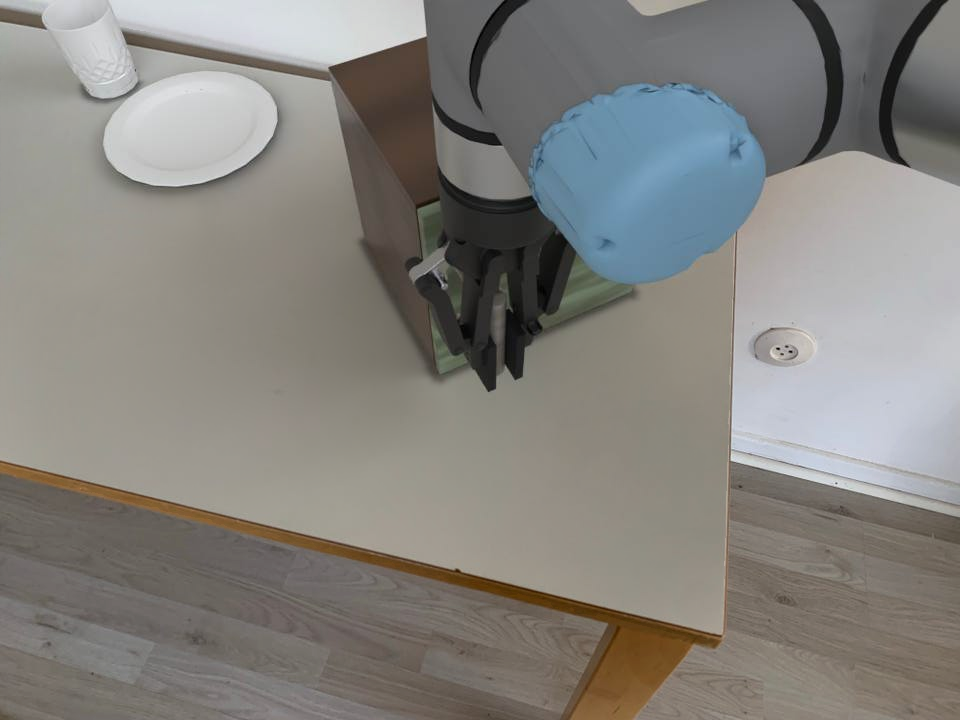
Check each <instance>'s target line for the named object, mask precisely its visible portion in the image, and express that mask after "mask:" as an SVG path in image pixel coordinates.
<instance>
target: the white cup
mask: <svg viewBox="0 0 960 720" xmlns="http://www.w3.org/2000/svg"><path fill="white" fill-rule="evenodd" d="M41 22H42V23H43V25H44V27H45V29H46V30H47V32H48V33H49V35H50V36H51V38H52V40H53V41H54V43H55V45H56V46H57V48H58V49H59V51H60V53H61V54H62V56H63V58H64V59H65V61H66V62H67V64H68V65H69V67H70V69H71V70H72V72H73V73H74V75H75V76H76V77H77V78H78V80H79V82H80V83H81V85H82V84H83V85H84V86H85V87H86V88H87V89H86V88H85V87H84V86H83V85H82V86H83V88H84V90H85V91H86V92H87V93H88V94H89V95H90V96H91V97H95V98H97V99H101V100H103V99H104V100H105V99H114V98H117V97H120V96H124V95H126V94H127V93H129V92H130V91H132V90H133V89H134V88H135V86H136V85H137V83H138V82H139V74H138V71H137V69H136V76H135V77H134V79H133V80H132V82H131V83H129V82H130V81H131V79H132V77H133V76H134V74H135V68H136V66H135V63H134V61H133V58H132V55H131V51H130V49H129V47H128V44H127V41H126V39H125V36H124V34H123V31H122V29H121V27H120V25H119V22H118V20H117V17H116V15H115V13H114V10H113V7H112V5H111V3H110V0H54V1H52V2H51V3H50V4H48V5H47V6H46V7H45V9H44V10H43V11H42V14H41ZM134 66H135V67H134ZM128 83H129V84H128ZM126 84H128V85H127V86H126ZM124 86H125V87H124ZM123 87H124V88H123ZM121 88H122V89H121ZM118 89H119V90H118ZM88 90H89V91H88ZM92 91H93V92H92ZM108 92H109V93H108Z"/></svg>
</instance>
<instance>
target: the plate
mask: <svg viewBox="0 0 960 720" xmlns="http://www.w3.org/2000/svg"><path fill="white" fill-rule="evenodd" d="M200 89H201V90H200ZM202 89H203V90H202ZM186 91H187V92H186ZM278 118H279V117H278V107H277V104H276V102H275V100H274V98H273V97H272V95H271V93H269V91H268V90H267V89H266V88H264V87H263V86H262V85H261V84H260V83H258V82H256V81H254V80H252V79H250V78H248V77H245V76H243V75H240V74H236V73H231V72H226V71H216V70H215V71H213V70H200V71H192V72H185V73H179V74H176V75H173V76H169V77H166V78H162V79H159V80H157V81H155V82H153V83H150V84H149V85H147V86H145V87H142V88H141V89H139V90H138V91H136V92H135V93H133V94H132V95H131V96H129V97H128V98H126V100H124V101H123V103H122V104H120V106H119V107H118V108H117V109H116V110H115V111H114V112H113V113H112V115H111V116H110V118H109V121H108V123H107V124H106V126H105V128H104V133H103V142H102V146H103V147H102V148H103V150H104V153H105V157H106V159H107V161H108V162H109V163H110V164H111V165H112V167H113V168H114V169H115V170H116V172H117V173H119V174H121V175H122V176H124V177H126V178H128V179H130V180H131V181H133V182H136V183H139V184H142V185H143V184H144V185H147V186H151V187H156V188H175V189H177V188H185V187H193V186H201V185H204V184H208V183H211V182H214V181H217V180H220V179H224V178H225V177H227V176H230V175H231V174H233V173H235V172H237V171H239V170H241V169H243V168H245V167H246V166H247V165H248V164H250V163H251V162H252V161H253V160H255V159H256V158H257V157H258V156H260V154H262V153H263V151H264V150H265V149H266V147H267V146H268V145H269V143H270V142H271V140H272V139H273V138H274V135H275V132H276V129H277V126H278V123H279V120H278Z"/></svg>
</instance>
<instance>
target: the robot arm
mask: <svg viewBox="0 0 960 720" xmlns="http://www.w3.org/2000/svg"><path fill="white" fill-rule="evenodd" d="M423 12H424V23H425V35H426V36H427V46H428V58H429V69H430V80H431V90H432V105H433V117H434V130H435V142H436V154H437V160H438V183H439V195H440V207H441V215H442V221H443V227H442V230H441V233H440V234H439V236H438V239H437V247H438V249H437V250H436V251H435V252H433V253H432V254H431V255H430V256H429V257H427V258H426V259H425V260H424V261H423V260H422V259H420V258H419V257H412V258H410V259H408V260H407V261H406V262H405V264H404V268H405V270H406V271H407V273H408V275H409V277H410V278H411V280H412V282H413V284H414V285H415V287H416V289H417V290H418V292H419V294H420V295H421V296H422V297H424V298H425V299H426V300H427V303H428V306H429V308H430V311H431V314H432V316H433V319H434V322H435V324H436V327H437V330H438V332H439V333H440V335H441V337H442V339H443V340H444V342H445V344H446V346H447V347H448V349H449V351H450V352H451V354H452V355H453V356H459V355H461V354H462V353H463V352H464V356H465V358H466V359H467V361H468V363H467V364H469V366H470V368H471V369H472V370H473V371H475V374H476V375H477V376H478V378H479V380H480V381H481V383H482V384H483V386H484V388H485V390H486V391H487V393H490V392H493V391H495V390H497V376H496V362H497V346H496V344H495V343H494V341H493V339H492V338H491V336H490V335H489V330H490V322H491V315H492V307H493V300H494V293H497V292H498V291H499V286H500V279H501V275H502V274H504V273H507V282H508V291H509V301H510V306H511V308H512V309H513V313H512V312H511V310H510V309H507V310H506V337H505V367H506V368H507V370H508V372H509V374H510V375H511V377H512V378H513V380H514V381H518V380H520V379H522V378H523V377H524V365H525V353H526V351H525V350H526V348H527V347H530V346H531V345H532V343H533V341H534V337H536V336H538V335H540V334H541V333H542V332H543V331H544V330H543V327H542V325H541V324H540V322H539V321H538V318H539V317H540V316H541V315H543V314H544V313H545V314H546V315H547V316H550V315H553V314H554V313H556V312H557V311H558V309H559V307H560V303H561V300H562V297H563V294H564V291H565V288H566V285H567V281H568V278H569V275H570V272H571V269H572V266H573V262H574V259H575V256H576V253H578V254H579V256H580V257H581V258H582V259H583V261H584V262H585V263H586V265H587V266H588V267H589V268H590V269H592V270H593V271H594V272H595V273H597V274H598V275H600V276H601V277H603V278H606V279H608V280H611V281H614V282H617V283H624V284H634V285H645V284H650V283H655V282H659V281H663V280H666V279H668V278H672V277H675V276H676V275H679V274H681V273H683V272H685V271H687V270H689V268H690V267H692V265H693V263H694V262H696V260H698V259H699V258H701V257H702V256H703V255H705V254H706V255H707V254H713V253H715V252H717V251H718V250H719V249H720V248H721V247H722V246H724V245H725V244H726V243H727V242H728V241H729V240H731V238H732V237H733V236H734V235H735V234H736V233H737V232H738V231H739V229H740V228H741V227H742V226H743V225H744V224H745V223H746V221H747V220H748V218H749V217H750V216H751V214H752V213H753V211H754V209H755V207H756V206H757V204H758V202H759V200H760V199H761V195H762V193H763V190H764V186H765V182H766V179H767V178H770V177H773V176H775V175H776V176H777V175H779V174H782V173H784V172H787V171H790V170H792V169H794V168H798V167H801V166H804V165H807V164H810V163H813V162H816V161H820V160H823V159H824V158H828V157H830V156H834V155H837V154H840V153H844V152H861V153H865V154H868V155H870V156H873V157H875V158H879V159H881V160H883V161H886V162H889V163H891V164H896V165H900V166H903V167H906V168H909V169H912V170H914V171H917V172H919V173H922V174H925V175H928V176H930V177H933V178H935V179H938V180H941V181H943V182H946V183H949V184H952V185H954V186H957V187H958V188H959V187H960V0H704V1H700V2H696V3H693V4H689V5H685V6H681V7H677V8H675V9H672V10H669V11H664V12H661V13H658V14H653V15H645V14H642V13H641V12H640V11H639V10H638V9H637V8H636V7H635V6H634V5H632V3H630V2H629V0H423ZM541 247H542V248H541ZM540 249H541V252H540ZM539 254H540V256H539ZM450 265H451V266H453V267H455V268H456V269H458V270H460V271H462V272H463V286H462V299H461V312H460V317H459V319H457V318H456V315H455V311H454V308H453V305H452V302H451V299H450V297H449V295H448V294H447V292H446V289H447V288H448V286H449V284H448V283H447V279H448V274H447V269H448V268H449V266H450Z"/></svg>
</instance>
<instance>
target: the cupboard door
mask: <svg viewBox="0 0 960 720" xmlns="http://www.w3.org/2000/svg"><path fill="white" fill-rule="evenodd" d="M417 212H418V221H419V229H420V238H421V246H422V254H423V261H424V260H425V259H426V258H427V257H429V256H430V255H431V254H432V253H433V252H435V251H436V250H437V249H438V247H437V239H438V236H439V234H440V233H441V230H442V227H443V221H442V215H441V207H440V201H437V202H435V203H432V204H429V205H427V206H424V207H421V208H419V209H417ZM541 248H542V247H541ZM540 252H541V249H540ZM539 256H540V254H539ZM447 274H448V279H447V283H448V284H449V286H448V288H447V289H446V292H447V294H448V295H449V297H450V299H451V302H452V305H453V308H454V311H455V315H456V318H457V319H459V317H460V312H461V299H462V286H463V272H462V271H460V270H458V269H456V268H455V267H453V266H451V265H450V266H449V268H448V269H447ZM634 285H635V284H624V283H617V282H614V281H611V280H608V279H606V278H603V277H601V276H600V275H598V274H597V273H595V272H594V271H593V270H592V269H590V268H589V267H588V266H587V265H586V263H585V262H584V261H583V259H582V258H581V257H580V256H579V254H578V253H576V256H575V259H574V262H573V266H572V269H571V272H570V275H569V278H568V281H567V285H566V288H565V291H564V294H563V297H562V300H561V303H560V307H559V309H558V311H557V312H556V313H554V314H553V315H550V316H547V315H546V314H545V313H544V314H543V315H541V316H540V317H539V318H538V321H539V322H540V324H541V325H542V327H543V330H542V331H544V330H547V329H549V328H551V327H554V326H556V325H558V324H561V323H563V322H565V321H567V320H569V319H572V318H574V317H576V316H579V315H581V314H583V313H586V312H588V311H590V310H593V309H595V308H597V307H600V306H602V305H604V304H606V303H609V302H611V301H614V300H616V299H618V298H621V297H623V296H625V295H628V294H630V293H632V292H633V289H634ZM507 309H510V310H511V312H512V313H513V309H512V308H511V306H510V301H509V291H508V282H507V273H504V274H502V275H501V279H500V286H499V291H498V292H497V293H494V300H493V307H492V315H491V322H490V330H489V335H490V336H491V338H492V339H493V341H494V343H495V344H496V346H497V362H496V377H499V376H501V375H503V373H504V371H505V369H506V368H505V367H506V365H505V337H506V310H507ZM429 313H430V321H431V329H432V338H433V346H434V354H435V363H436V366H435V368H436V370H437V372H438V374H439V375H443V374H445V373H448V372H450V371H452V370H454V369H456V368H458V367H462V366H463V365H466V364H469V363H468V361H467V359H466V358H465V356H464V352H463V353H462V354H461V355H459V356H453V355H452V354H451V352H450V351H449V349H448V347H447V346H446V344H445V342H444V340H443V339H442V337H441V335H440V333H439V332H438V330H437V327H436V324H435V322H434V319H433V316H432V314H431V311H430V308H429Z"/></svg>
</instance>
